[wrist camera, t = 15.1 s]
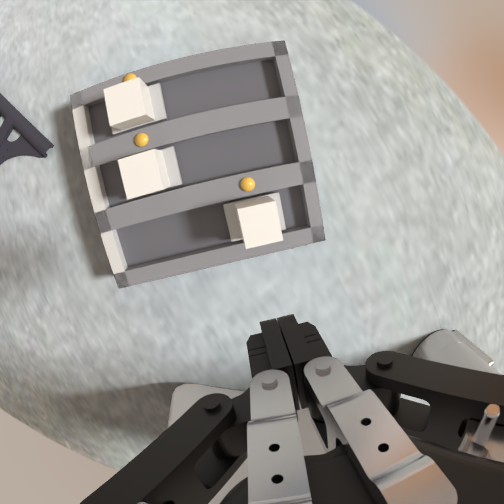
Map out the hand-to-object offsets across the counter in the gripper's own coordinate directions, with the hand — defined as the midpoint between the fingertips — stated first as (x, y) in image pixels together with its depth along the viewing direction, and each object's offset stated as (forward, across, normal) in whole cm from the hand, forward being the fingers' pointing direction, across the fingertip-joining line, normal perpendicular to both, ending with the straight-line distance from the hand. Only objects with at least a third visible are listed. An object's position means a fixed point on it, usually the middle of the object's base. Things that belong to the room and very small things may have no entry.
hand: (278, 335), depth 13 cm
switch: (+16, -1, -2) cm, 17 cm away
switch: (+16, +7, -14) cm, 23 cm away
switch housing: (+20, +3, -8) cm, 21 cm away
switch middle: (+16, +7, -8) cm, 19 cm away
